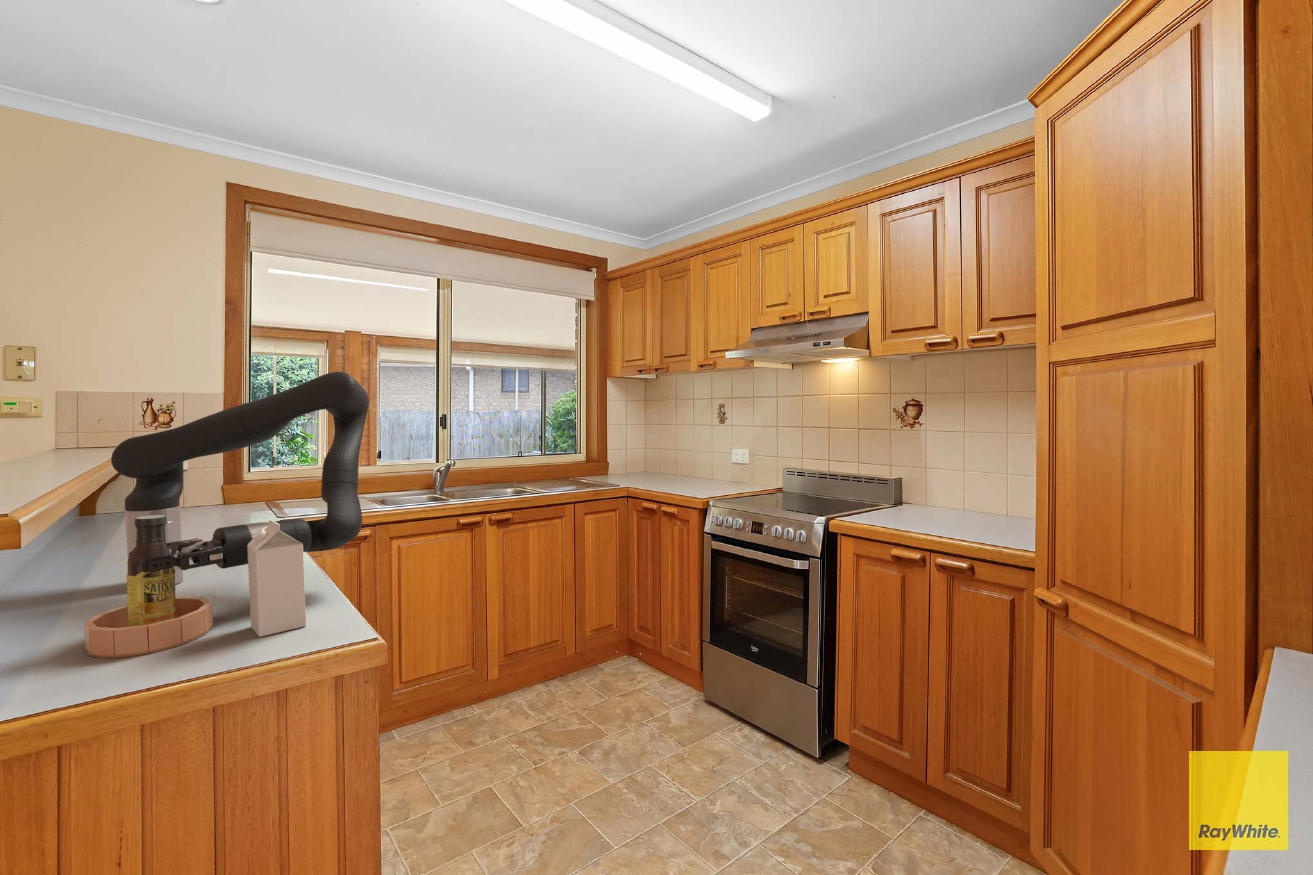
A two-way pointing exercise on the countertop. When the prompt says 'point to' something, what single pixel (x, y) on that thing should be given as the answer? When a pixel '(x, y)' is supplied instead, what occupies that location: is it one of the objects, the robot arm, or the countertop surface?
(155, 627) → the terracotta bowl
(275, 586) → the milk carton
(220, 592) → the countertop surface
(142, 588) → the sauce bottle
